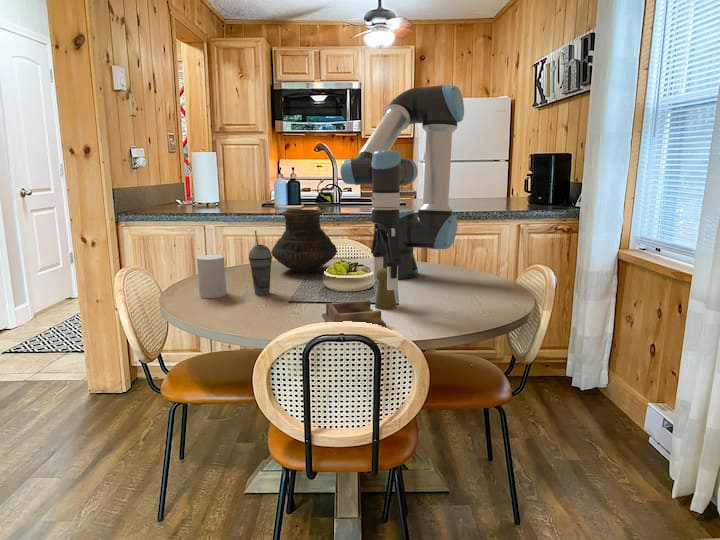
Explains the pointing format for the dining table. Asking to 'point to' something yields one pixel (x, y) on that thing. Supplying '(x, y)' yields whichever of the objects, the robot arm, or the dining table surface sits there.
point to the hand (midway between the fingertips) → (385, 284)
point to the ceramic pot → (303, 242)
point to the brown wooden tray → (352, 312)
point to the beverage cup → (260, 268)
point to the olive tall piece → (384, 292)
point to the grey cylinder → (211, 276)
